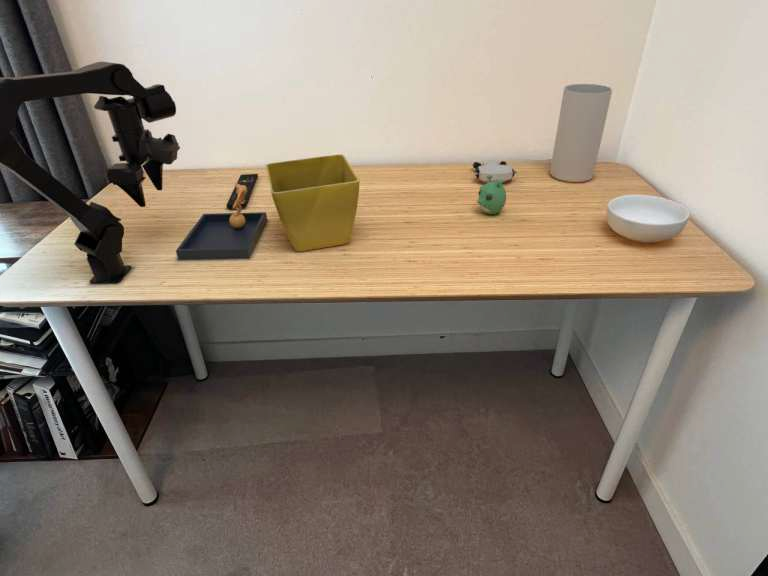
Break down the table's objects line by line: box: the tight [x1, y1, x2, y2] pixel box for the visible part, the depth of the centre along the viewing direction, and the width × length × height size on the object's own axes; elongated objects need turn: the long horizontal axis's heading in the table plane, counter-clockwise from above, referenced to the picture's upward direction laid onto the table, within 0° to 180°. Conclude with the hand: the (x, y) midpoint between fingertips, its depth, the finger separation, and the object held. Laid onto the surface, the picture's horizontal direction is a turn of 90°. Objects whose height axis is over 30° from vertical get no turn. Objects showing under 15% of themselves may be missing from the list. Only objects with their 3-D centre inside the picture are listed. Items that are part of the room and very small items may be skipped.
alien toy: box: [476, 175, 507, 215], centre depth 123 cm, size 7×8×10 cm
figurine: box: [229, 182, 247, 229], centre depth 119 cm, size 8×6×12 cm
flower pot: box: [265, 153, 360, 253], centre depth 113 cm, size 19×19×17 cm
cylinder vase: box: [549, 83, 613, 183], centre depth 139 cm, size 12×12×25 cm
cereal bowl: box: [606, 194, 690, 244], centre depth 111 cm, size 17×17×7 cm
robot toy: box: [470, 158, 519, 184], centre depth 145 cm, size 12×4×15 cm
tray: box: [175, 211, 268, 261], centre depth 118 cm, size 20×17×2 cm
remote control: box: [225, 173, 259, 211], centre depth 142 cm, size 5×24×1 cm, turn 4°
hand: (151, 198), depth 108 cm, fingers open, 9 cm apart
